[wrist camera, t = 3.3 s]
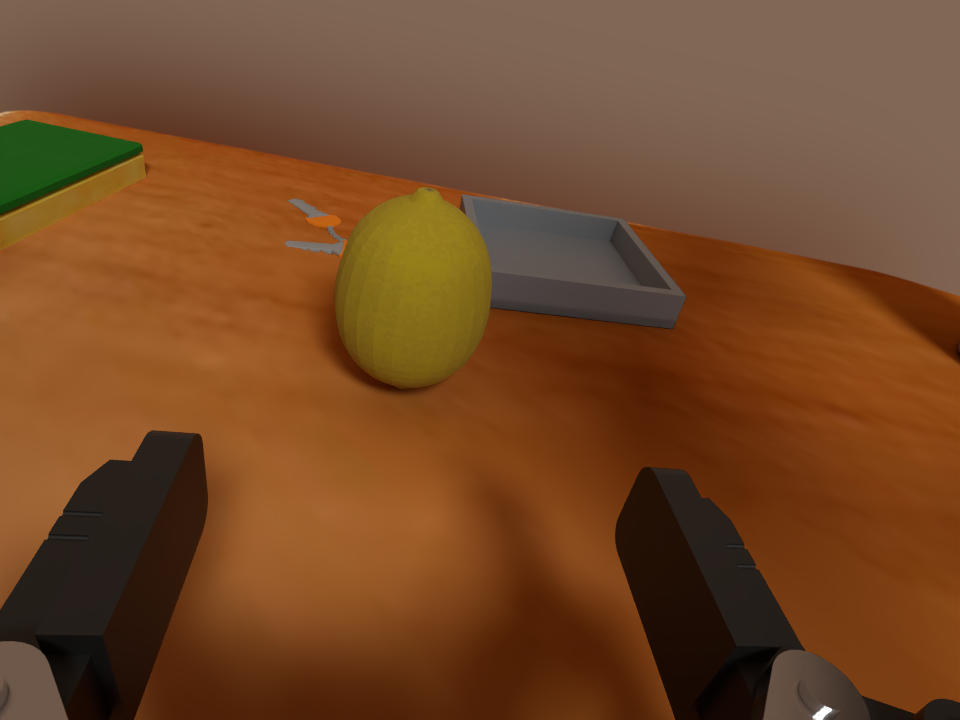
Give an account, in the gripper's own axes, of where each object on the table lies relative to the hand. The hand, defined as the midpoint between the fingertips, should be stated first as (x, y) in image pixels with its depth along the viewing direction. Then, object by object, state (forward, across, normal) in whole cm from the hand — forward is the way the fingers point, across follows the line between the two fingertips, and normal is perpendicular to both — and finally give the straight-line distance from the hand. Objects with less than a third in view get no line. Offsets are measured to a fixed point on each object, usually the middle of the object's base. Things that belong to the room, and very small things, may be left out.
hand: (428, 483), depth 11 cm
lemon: (+11, 0, +6) cm, 13 cm away
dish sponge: (+24, +20, +7) cm, 32 cm away
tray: (+24, -9, +6) cm, 26 cm away
